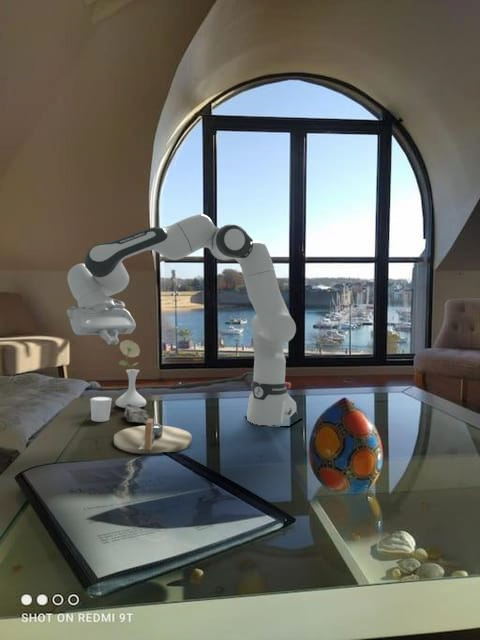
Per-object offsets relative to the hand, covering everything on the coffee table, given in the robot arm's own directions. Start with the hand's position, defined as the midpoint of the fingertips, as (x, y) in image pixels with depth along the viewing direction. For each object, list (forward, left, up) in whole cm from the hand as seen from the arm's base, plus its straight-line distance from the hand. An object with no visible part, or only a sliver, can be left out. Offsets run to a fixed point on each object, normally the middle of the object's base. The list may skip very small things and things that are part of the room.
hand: (114, 343), depth 132 cm
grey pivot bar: (-5, +14, -25) cm, 29 cm away
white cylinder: (-8, -17, -28) cm, 33 cm away
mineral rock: (-17, -8, -28) cm, 33 cm away
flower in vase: (-26, -25, -28) cm, 45 cm away
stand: (-6, +12, -27) cm, 31 cm away
